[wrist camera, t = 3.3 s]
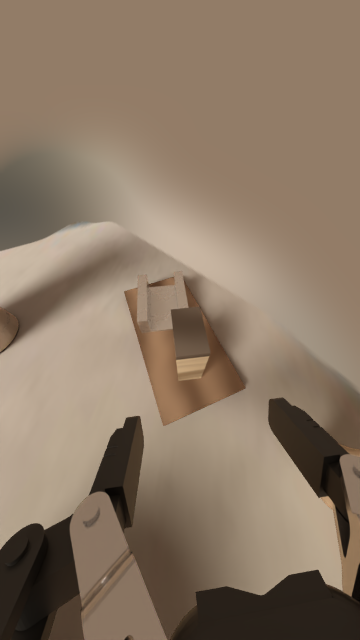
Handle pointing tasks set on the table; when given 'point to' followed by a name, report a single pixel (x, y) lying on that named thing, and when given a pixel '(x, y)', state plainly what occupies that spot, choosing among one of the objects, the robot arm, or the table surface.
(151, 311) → the clip
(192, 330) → the grey-topped wooden block
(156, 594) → the table surface
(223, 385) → the board
